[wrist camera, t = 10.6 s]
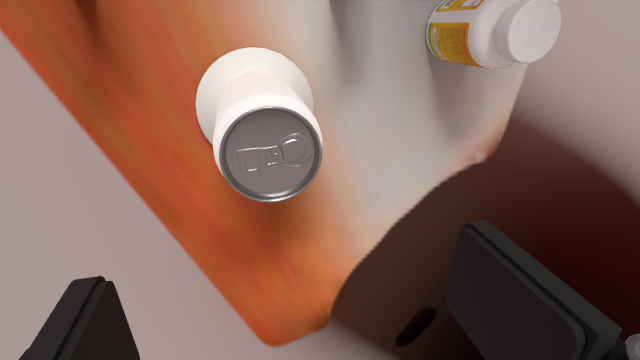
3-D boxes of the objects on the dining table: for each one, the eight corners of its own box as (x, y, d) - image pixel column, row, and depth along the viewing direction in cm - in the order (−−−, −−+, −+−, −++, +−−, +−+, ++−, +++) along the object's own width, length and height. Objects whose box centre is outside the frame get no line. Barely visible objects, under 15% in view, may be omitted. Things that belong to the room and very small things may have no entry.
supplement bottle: (458, 69, 32) (539, 86, 24) (413, 47, 31) (483, 56, 22) (488, 11, 31) (587, 7, 22) (442, -16, 29) (530, -32, 20)
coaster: (311, 45, 28) (312, 46, 28) (313, 156, 33) (315, 158, 32) (186, 49, 27) (185, 49, 26) (206, 166, 31) (205, 168, 30)
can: (301, 135, 31) (336, 194, 20) (231, 150, 30) (228, 220, 19) (288, 62, 28) (320, 86, 17) (209, 76, 27) (193, 111, 17)
